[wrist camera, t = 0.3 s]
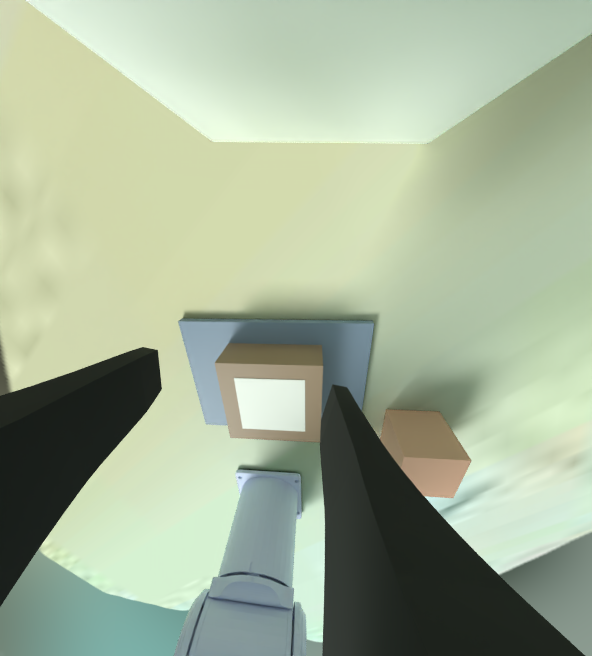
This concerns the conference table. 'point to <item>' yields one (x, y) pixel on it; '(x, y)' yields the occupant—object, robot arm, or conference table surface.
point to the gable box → (324, 60)
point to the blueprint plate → (265, 330)
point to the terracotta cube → (425, 450)
